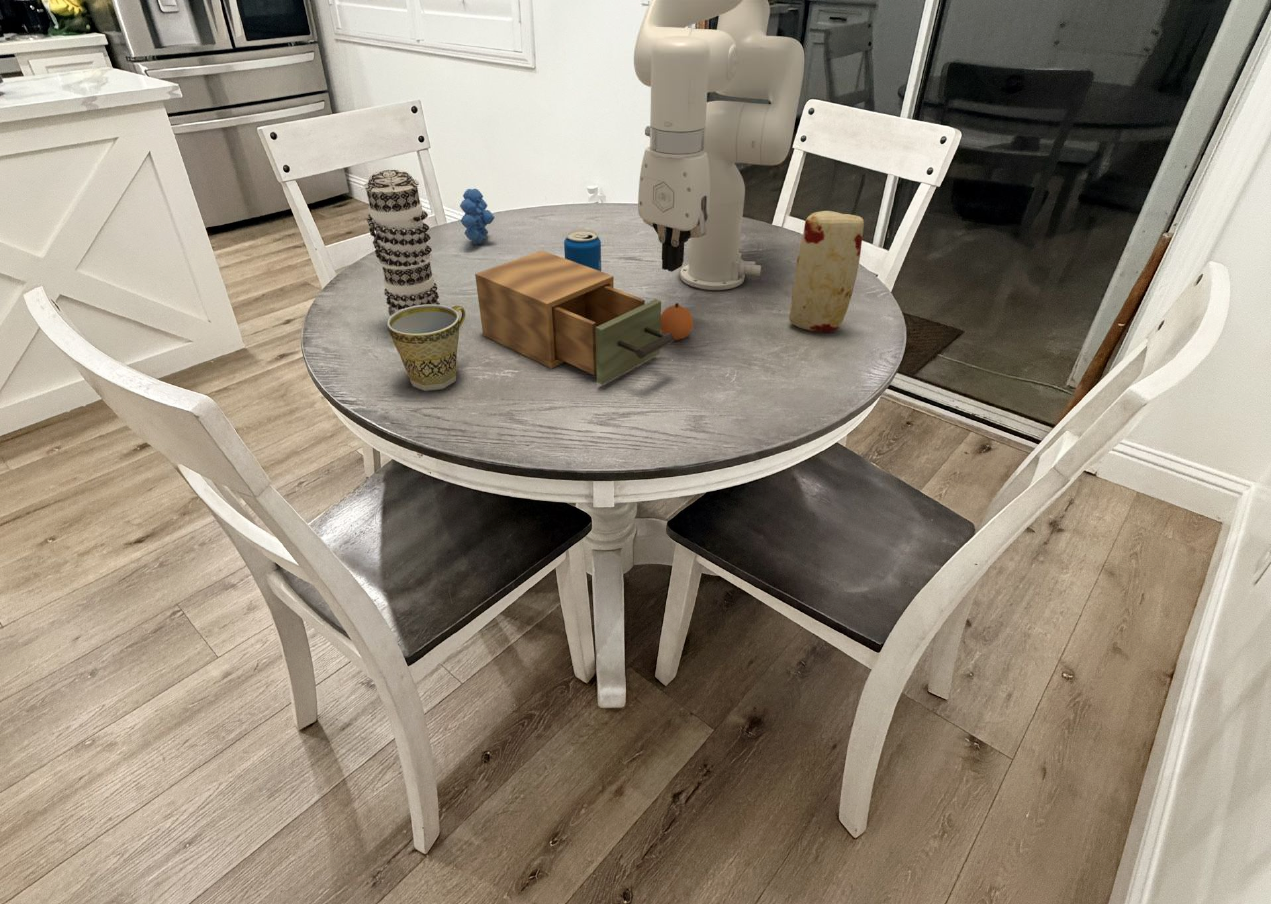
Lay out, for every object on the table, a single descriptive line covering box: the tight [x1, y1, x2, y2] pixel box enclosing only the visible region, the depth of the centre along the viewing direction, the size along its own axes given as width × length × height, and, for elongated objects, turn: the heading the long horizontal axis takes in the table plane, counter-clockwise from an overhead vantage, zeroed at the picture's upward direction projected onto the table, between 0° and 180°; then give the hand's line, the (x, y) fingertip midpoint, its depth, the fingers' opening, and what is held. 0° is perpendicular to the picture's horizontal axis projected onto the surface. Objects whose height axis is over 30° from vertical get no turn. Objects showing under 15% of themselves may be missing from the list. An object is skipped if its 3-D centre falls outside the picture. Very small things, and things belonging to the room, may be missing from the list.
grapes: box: [459, 188, 496, 245], centre depth 149 cm, size 12×7×12 cm, turn 173°
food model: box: [788, 210, 865, 334], centre depth 115 cm, size 10×7×20 cm
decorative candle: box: [363, 169, 441, 317], centre depth 113 cm, size 9×9×25 cm
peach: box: [660, 302, 694, 341], centre depth 116 cm, size 6×6×6 cm
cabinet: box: [474, 250, 615, 369], centre depth 115 cm, size 17×14×11 cm
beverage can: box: [563, 228, 602, 272], centre depth 127 cm, size 6×6×12 cm
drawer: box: [552, 285, 675, 386], centre depth 107 cm, size 21×13×9 cm, turn 49°
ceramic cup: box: [386, 304, 466, 392], centre depth 104 cm, size 13×10×10 cm
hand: (672, 267), depth 108 cm, fingers closed
